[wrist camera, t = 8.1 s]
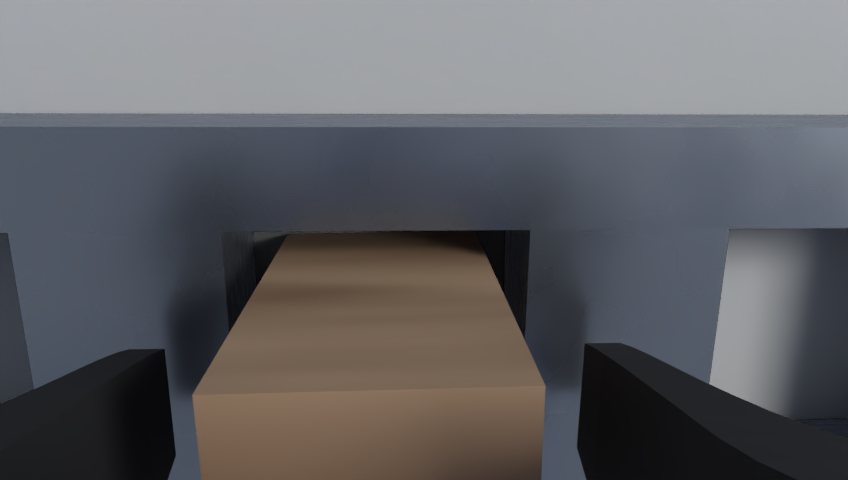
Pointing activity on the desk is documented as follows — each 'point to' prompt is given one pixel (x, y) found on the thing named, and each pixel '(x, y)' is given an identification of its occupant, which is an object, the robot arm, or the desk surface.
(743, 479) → the robot arm
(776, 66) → the desk surface
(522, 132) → the grey square hole board
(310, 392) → the square peg
